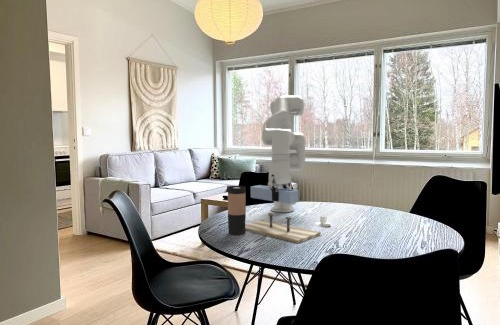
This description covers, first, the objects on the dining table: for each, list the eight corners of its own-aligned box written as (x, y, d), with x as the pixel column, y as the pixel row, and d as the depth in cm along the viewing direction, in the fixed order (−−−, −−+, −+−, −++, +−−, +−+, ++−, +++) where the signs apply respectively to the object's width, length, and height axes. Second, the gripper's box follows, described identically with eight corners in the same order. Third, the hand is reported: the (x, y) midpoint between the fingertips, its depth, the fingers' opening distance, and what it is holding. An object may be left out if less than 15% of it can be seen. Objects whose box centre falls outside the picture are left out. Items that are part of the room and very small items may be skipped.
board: (263, 222, 184) (263, 207, 183) (320, 234, 162) (320, 218, 161) (239, 228, 172) (239, 212, 171) (298, 243, 150) (298, 225, 150)
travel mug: (224, 232, 165) (224, 186, 163) (238, 229, 170) (238, 185, 168) (235, 236, 159) (235, 188, 158) (249, 233, 164) (249, 187, 163)
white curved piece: (332, 228, 175) (332, 219, 174) (314, 227, 176) (314, 218, 176) (332, 223, 183) (332, 215, 183) (315, 222, 185) (315, 214, 185)
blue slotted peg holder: (259, 195, 177) (259, 185, 177) (298, 201, 162) (298, 190, 162) (250, 197, 173) (250, 186, 173) (290, 203, 158) (290, 191, 158)
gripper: (285, 156, 173) (285, 196, 174) (260, 158, 160) (260, 201, 162) (299, 157, 168) (298, 198, 169) (274, 159, 155) (274, 203, 156)
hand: (280, 199), depth 165 cm, fingers closed on blue slotted peg holder, 6 cm apart
